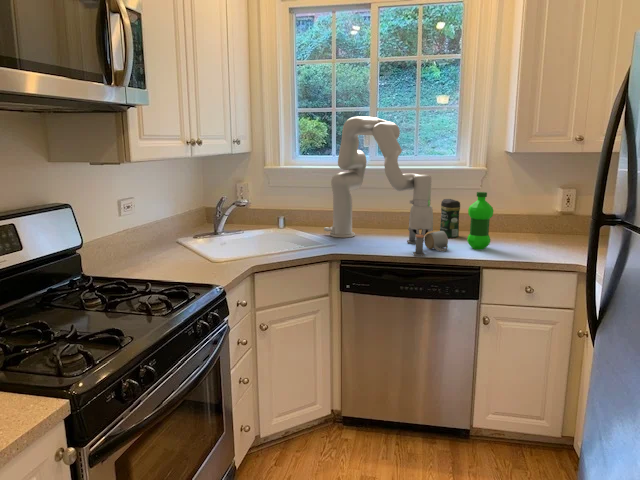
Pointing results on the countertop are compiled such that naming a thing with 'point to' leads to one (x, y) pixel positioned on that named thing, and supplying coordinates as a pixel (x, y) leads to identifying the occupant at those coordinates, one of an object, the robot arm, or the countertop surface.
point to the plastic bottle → (480, 222)
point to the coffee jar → (450, 217)
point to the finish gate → (418, 241)
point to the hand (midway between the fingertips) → (419, 244)
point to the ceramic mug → (436, 240)
